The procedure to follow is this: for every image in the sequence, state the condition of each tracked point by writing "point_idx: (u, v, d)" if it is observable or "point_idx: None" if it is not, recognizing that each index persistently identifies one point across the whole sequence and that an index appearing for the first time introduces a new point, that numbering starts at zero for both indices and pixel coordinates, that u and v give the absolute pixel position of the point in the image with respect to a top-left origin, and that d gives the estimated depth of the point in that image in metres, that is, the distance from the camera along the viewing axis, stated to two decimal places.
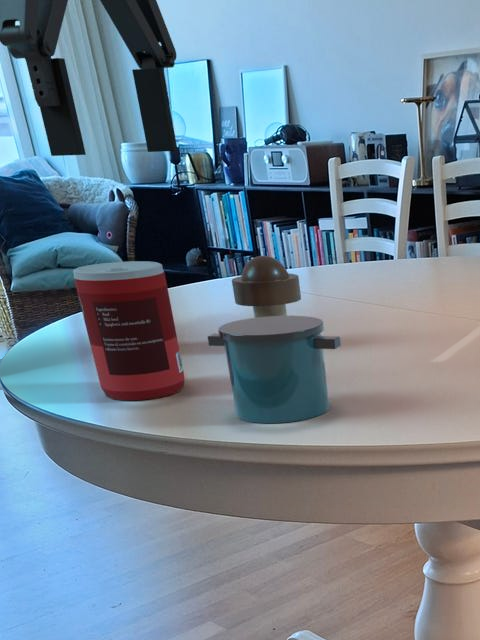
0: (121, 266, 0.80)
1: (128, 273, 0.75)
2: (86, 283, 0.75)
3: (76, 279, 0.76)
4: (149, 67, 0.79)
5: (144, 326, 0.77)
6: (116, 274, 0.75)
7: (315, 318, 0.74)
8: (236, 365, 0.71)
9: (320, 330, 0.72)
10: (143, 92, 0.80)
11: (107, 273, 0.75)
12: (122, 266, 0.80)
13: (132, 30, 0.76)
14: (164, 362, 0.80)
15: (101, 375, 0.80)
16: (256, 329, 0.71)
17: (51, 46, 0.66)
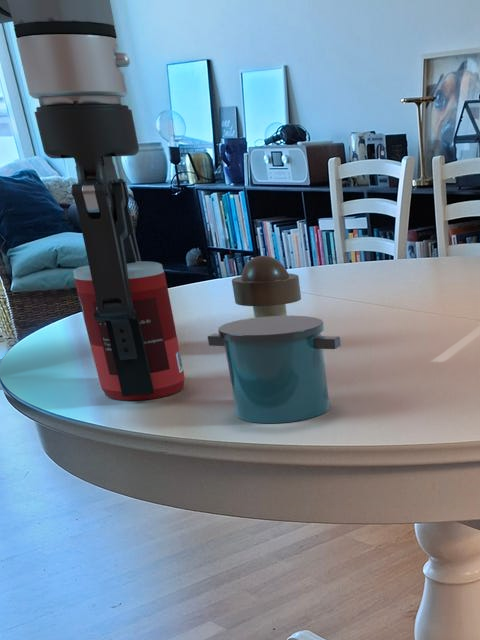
0: None
1: (128, 273, 0.75)
2: (86, 283, 0.75)
3: (76, 279, 0.76)
4: None
5: (144, 326, 0.77)
6: None
7: (315, 318, 0.74)
8: (236, 365, 0.71)
9: (320, 330, 0.72)
10: None
11: None
12: None
13: None
14: (164, 362, 0.80)
15: (101, 375, 0.80)
16: (256, 329, 0.71)
17: None
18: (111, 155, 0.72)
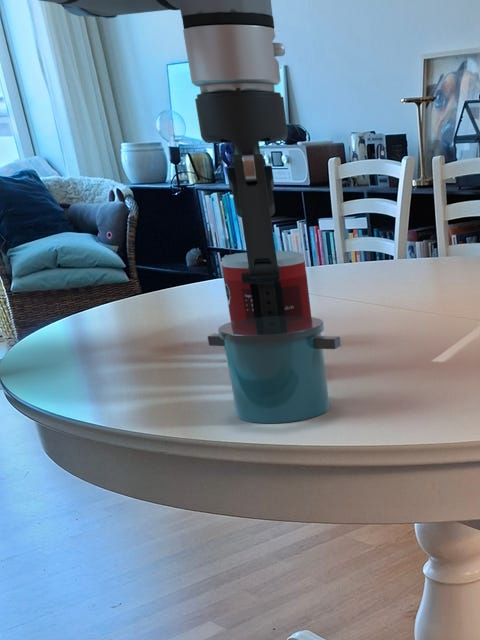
0: None
1: (277, 261, 0.79)
2: (237, 271, 0.80)
3: (226, 267, 0.80)
4: None
5: (288, 312, 0.82)
6: None
7: (315, 318, 0.74)
8: (236, 365, 0.71)
9: (320, 330, 0.72)
10: None
11: None
12: None
13: None
14: None
15: None
16: (256, 329, 0.71)
17: None
18: (265, 140, 0.76)
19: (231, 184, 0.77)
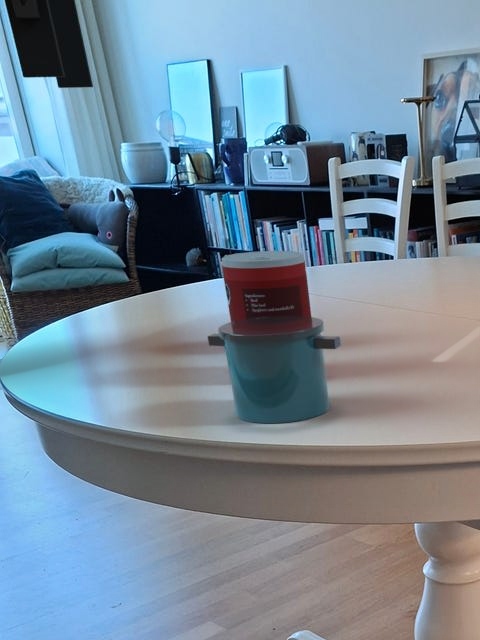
0: (261, 255, 0.85)
1: (277, 261, 0.79)
2: (237, 271, 0.80)
3: (226, 267, 0.80)
4: None
5: (288, 312, 0.82)
6: (266, 262, 0.79)
7: (315, 318, 0.74)
8: (236, 365, 0.71)
9: (320, 330, 0.72)
10: (52, 19, 0.72)
11: (258, 261, 0.79)
12: (262, 255, 0.85)
13: None
14: None
15: None
16: (256, 329, 0.71)
17: None
18: None
19: None
